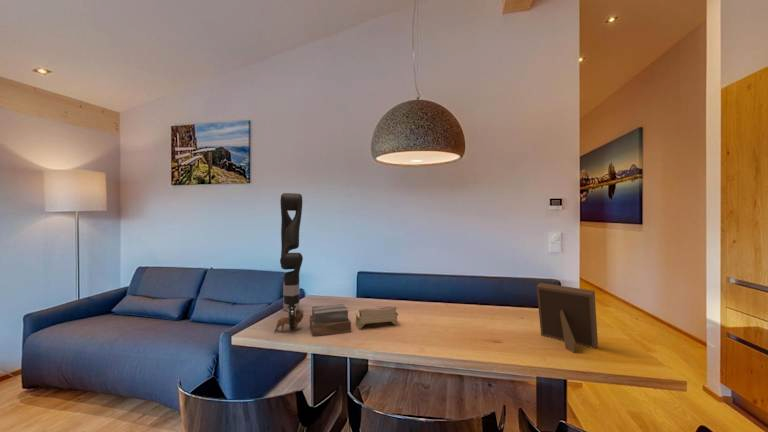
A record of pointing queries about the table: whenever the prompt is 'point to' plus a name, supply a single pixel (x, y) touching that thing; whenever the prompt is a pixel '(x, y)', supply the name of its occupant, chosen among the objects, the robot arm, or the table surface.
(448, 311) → the table surface
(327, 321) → the wooden box
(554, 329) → the photo frame
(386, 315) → the toy sofa
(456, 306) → the table surface
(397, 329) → the table surface
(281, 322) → the lion figurine
